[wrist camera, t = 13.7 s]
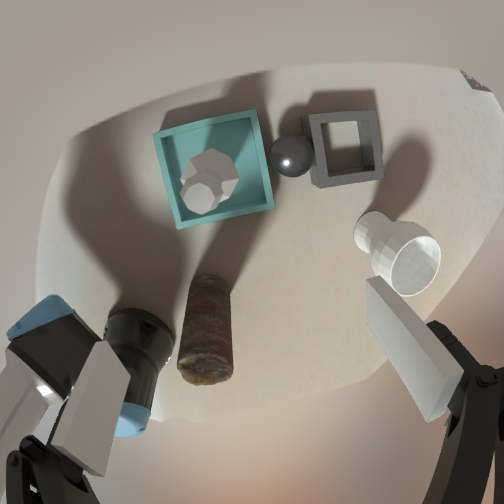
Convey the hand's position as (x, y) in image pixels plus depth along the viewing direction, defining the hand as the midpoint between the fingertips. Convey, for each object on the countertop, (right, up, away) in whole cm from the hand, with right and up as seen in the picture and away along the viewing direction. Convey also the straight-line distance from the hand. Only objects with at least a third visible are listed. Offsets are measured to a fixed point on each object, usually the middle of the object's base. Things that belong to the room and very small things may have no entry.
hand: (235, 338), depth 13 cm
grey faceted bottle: (-5, +17, +28) cm, 33 cm away
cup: (+23, +8, +35) cm, 43 cm away
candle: (-7, -3, +38) cm, 38 cm away
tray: (-5, +17, +29) cm, 34 cm away
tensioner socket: (+12, +20, +29) cm, 37 cm away
